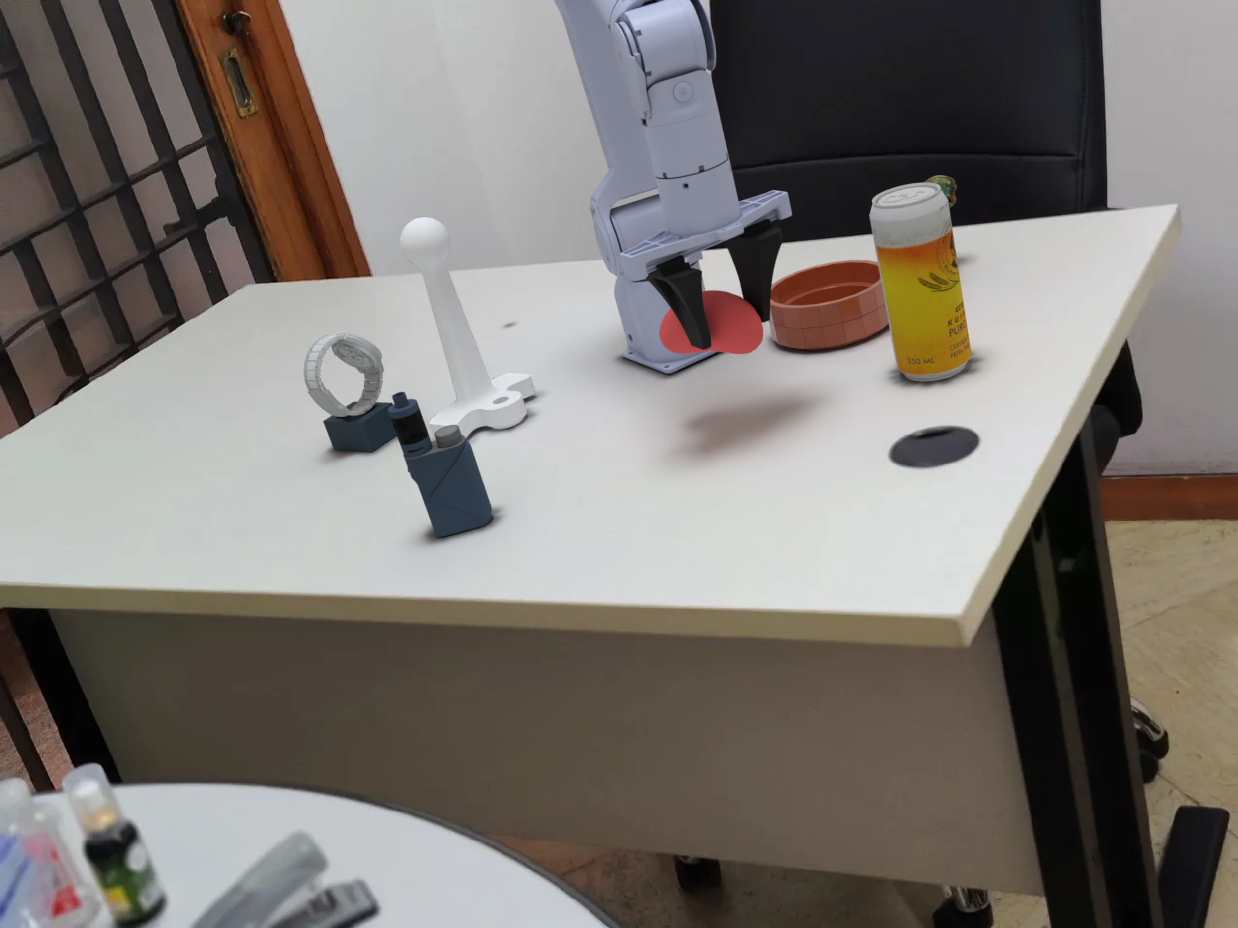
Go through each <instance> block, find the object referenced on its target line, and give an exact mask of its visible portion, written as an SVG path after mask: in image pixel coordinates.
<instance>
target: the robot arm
mask: <svg viewBox="0 0 1238 928" xmlns="http://www.w3.org/2000/svg"><path fill="white" fill-rule="evenodd" d="M553 2H554V4H555V5H556V7H557V9H558V11H559V13H560V15H561V18H562V21H563V24H564V28H565V31H566V35H567V38H568V41H569V45H570V47H571V50H572V53H573V54H572V55H573V57H574V61H575V63H576V67H577V70H578V73H579V76H580V81H581V84H582V87H583V90H584V93H585V97H586V100H587V103H588V106H589V110H590V113H591V116H592V120H593V123H594V126H595V129H596V133H597V135H598V139H599V143H600V146H601V149H602V152H603V155H604V158H605V162H606V166H607V172H606V173H605V175H604V176H603V178H602V179H601V181H600V182H599V184H598V185H597V187H596V188H594V190H593V192H592V193H591V196H590V199H589V211H590V214H591V218H592V222H593V230H594V236H595V239H596V243H597V246H598V249H599V252H600V255H601V258H602V261H603V263H604V265H605V267H606V269H607V271H608V272H609V273H610V274H612V275H614V276H615V277H616V279H615V283H614V290H613V293H614V300H615V304H616V307H617V312H618V314H619V318H620V322H621V325H622V330H623V333H624V337H625V340H626V345H627V348H626V349H624V350H622V351H621V352H620V354H621V357H623V358H625V359H628V360H631V361H633V362H635V363H639V364H641V365H644V366H646V367H648V368H650V369H654V370H656V371H659V372H661V373H665V374H673V373H675V372H677V371H679V370H681V369H683V368H686V367H688V366H691V365H692V364H694V363H697V362H700V361H701V360H703V359H705V358H708V357H709V356H712V355H714V354H716V353H719V352H718V351H706V352H698V353H688V354H678V353H674V352H671V351H669V350H668V349H667V348H665V347H664V345H663V344H662V342H661V340H660V336H659V330H660V325H661V322H662V320H663V318H664V316H665V315H666V313H667V312H668V311H669V310H670V309H672V310H673V312H674V314H675V315H676V317H677V318H678V320H679V322H680V324H681V325H682V327H683V329H684V331H685V333H686V335H687V337H688V339H689V341H690V344H691V346H694V347H697V348H699V349H702V350H705V349H708V348H710V347H711V336H710V331H709V327H708V323H707V320H706V316H705V311H704V305H703V296H702V291H707V289H706V287H705V282H704V278H703V271H702V269H701V266H700V262H699V261H700V260H703V259H704V256H703V253H702V252H703V251H704V250H706V249H709V248H711V247H714V246H717V245H719V244H722V243H724V244H725V246H726V249H727V251H728V254H729V256H730V258H731V261H732V263H733V266H734V268H735V272H736V275H737V278H738V281H739V286H740V291H741V295H742V298H743V299H744V300H746V301H747V302H748V303H749V304H751V305H752V306H753V307H754V309H755V310H756V312H757V313H758V315H759V317H760V318H761V322H762V324H763V323H767V322H769V320H770V300H771V286H772V284H773V278H774V277H773V276H774V271H775V267H776V263H777V259H778V257H779V252H780V250H781V248H782V244H783V243H784V240H783V239H784V238H783V233H782V229H781V228H780V227H777V226H772V223H771V222H773V221H775V220H784V219H787V218H790V217H792V216H793V212H792V207H791V202H790V198H789V192H787V191H782V190H775V189H773V190H770V191H767V192H765V193H762V194H759V195H756V196H753V197H749V198H745V199H743V200H740V201H739V198H738V192H737V188H736V184H735V179H734V174H733V170H732V165H731V161H730V156H729V151H728V147H727V142H726V138H725V134H724V133H725V132H724V130H723V125H722V120H721V115H720V111H719V106H718V101H717V97H716V93H715V89H714V84H713V79H712V75H711V74H710V73H709V72H711V71H714V70H715V68H716V66H717V65H716V64H717V50H716V41H715V36H714V31H713V27H712V24H711V20H710V17H709V15H708V12H707V10H706V7H705V5H704V3H703V1H702V0H553ZM707 70H708V71H709V72H708V71H707ZM656 189H657V191H658V193H655V194H653V195H650V196H647V197H644V198H641V199H637V200H634V201H631V202H627V203H624V204H621V205H618V206H615V207H613V206H614V205H615V204H616V203H617V202H619V201H621V200H624V199H628V198H630V197H634V196H637V195H640V194H643V193H646V192H649V191H653V190H656Z"/></svg>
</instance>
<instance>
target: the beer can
mask: <svg viewBox="0 0 1238 928" xmlns="http://www.w3.org/2000/svg"><path fill="white" fill-rule="evenodd" d="M871 203H872V205H871V208H870V212H869V215H868V216H869V221H870V227H871V228H870V229H871V233H872V238H873V244H874V249H875V255H876V260H877V261H876V262H878V267H879V272H880V278H881V283H882V289H883V294H884V300H885V305H886V311H887V316H888V322H889V324H888V327H889V332H890V338H891V343H892V349H893V354H894V360H895V365H896V369H897V370H898V371H899V372H901V373H902V374H903V375H904V376H905V378H907V379H908V380H911V381H914V382H937V381H941V380H945V379H948V378H951V377H954V376H956V375H958V374H959V373H962V371H963V370H965V368H966V367H967V363H968V362H969V361H970V359H971V357H972V353H973V352H972V348H971V341H970V334H969V328H968V321H967V314H966V309H965V302H964V294H963V289H962V282H961V277H960V270H959V264H958V256H957V249H956V244H955V243H956V242H955V238H954V237H955V236H954V229H953V224H952V217H951V211H950V208H949V204H948V199H947V198H946V196H945V195H944V193H943V192H942V191H941V187H940V186H939V185H938V184H935V183H924V182H915V183H909V184H908V183H907V184H903V185H899V186H895V187H892V188H890V189H886V190H884V191H882V192H880V193H878V194H876V195H875V196H874V197H873V198H872V199H871Z"/></svg>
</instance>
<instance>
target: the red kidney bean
mask: <svg viewBox="0 0 1238 928" xmlns="http://www.w3.org/2000/svg"><path fill="white" fill-rule="evenodd" d="M702 296H703V305H704V311H705V316H706V320H707V323H708V327H709V331H710V336H711V347H710V348H708V349H705V350H702V349H699V348H697V347H694V346H691V344H690V341H689V339H688V337H687V335H686V333H685V331H684V329H683V327H682V325H681V324H680V322H679V320H678V318H677V317H676V315H675V314H674V312H673V310H672V309H670V310H669V311H668V312H667V313H666V315H665V316H664V318H663V320H662V322H661V325H660V330H659V336H660V340H661V342H662V344H663V345H664V347H665V348H667V349H668V350H669V351H671V352H674V353H678V354H688V353H698V352H706V351H718V352H717V353H727V354H734V355H748V354H750V353H753V352H754V351H755V350H757V349H758V348H759V347H760V345H761V344H762V342H763V339H764V327H763V323H762V322H761V318H760V317H759V315H758V313H757V312H756V310H755V309H754V307H753V306H752V305H751V304H749V303H748V302H747V301H746V300H744V299H743V296H740V295H737V294H734V293H732V292H729V291H726V290H719V289H712V290H706V291H702Z"/></svg>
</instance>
